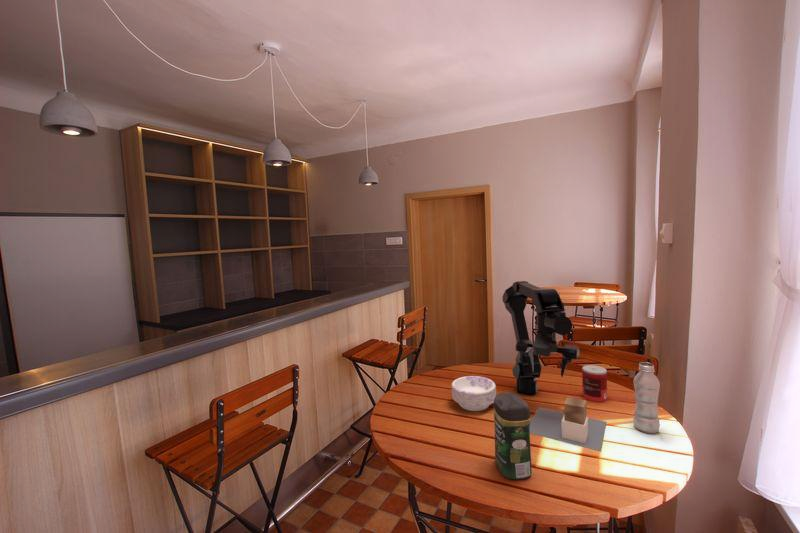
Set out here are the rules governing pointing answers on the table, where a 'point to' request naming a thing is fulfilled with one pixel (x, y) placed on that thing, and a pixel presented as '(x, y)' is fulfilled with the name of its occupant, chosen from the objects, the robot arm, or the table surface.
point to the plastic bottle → (646, 399)
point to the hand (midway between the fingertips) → (546, 374)
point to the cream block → (575, 431)
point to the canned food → (594, 383)
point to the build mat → (551, 427)
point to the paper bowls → (473, 392)
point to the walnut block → (575, 410)
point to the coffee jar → (512, 436)
